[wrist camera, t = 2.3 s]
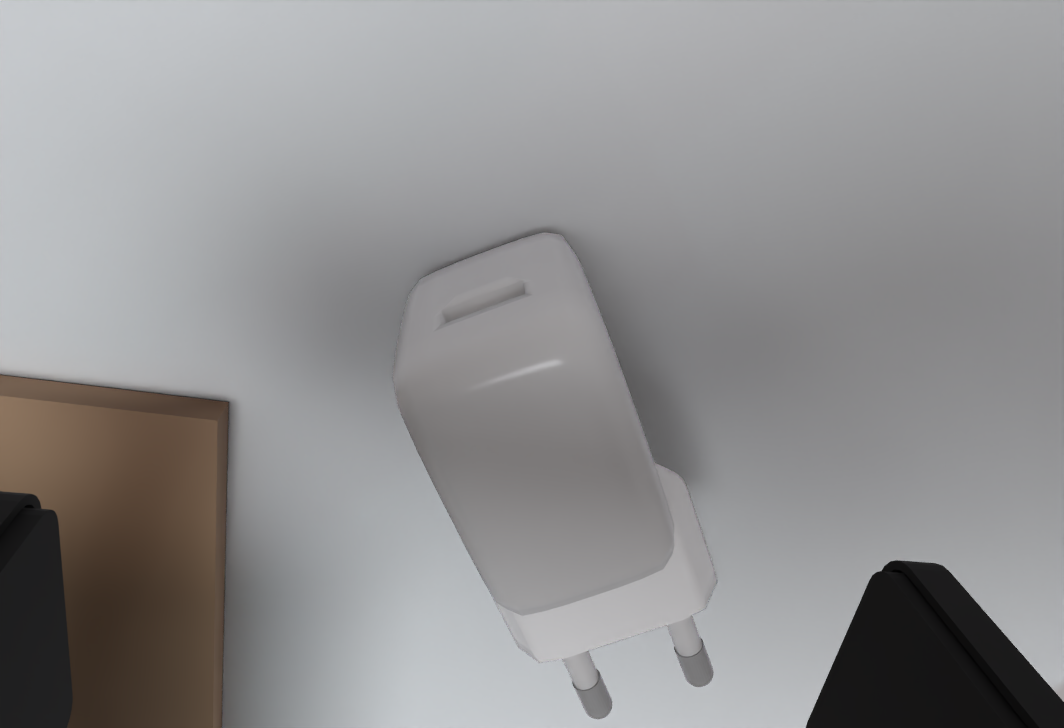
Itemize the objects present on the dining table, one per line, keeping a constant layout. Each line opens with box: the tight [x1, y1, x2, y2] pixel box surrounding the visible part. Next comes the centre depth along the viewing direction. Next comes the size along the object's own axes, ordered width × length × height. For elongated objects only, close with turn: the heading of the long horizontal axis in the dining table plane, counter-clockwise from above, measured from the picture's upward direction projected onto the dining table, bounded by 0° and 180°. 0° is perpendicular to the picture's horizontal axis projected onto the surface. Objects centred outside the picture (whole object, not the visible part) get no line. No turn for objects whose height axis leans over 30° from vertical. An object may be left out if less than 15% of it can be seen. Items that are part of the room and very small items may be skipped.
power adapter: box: [393, 232, 717, 719], centre depth 15 cm, size 10×4×5 cm, turn 20°
